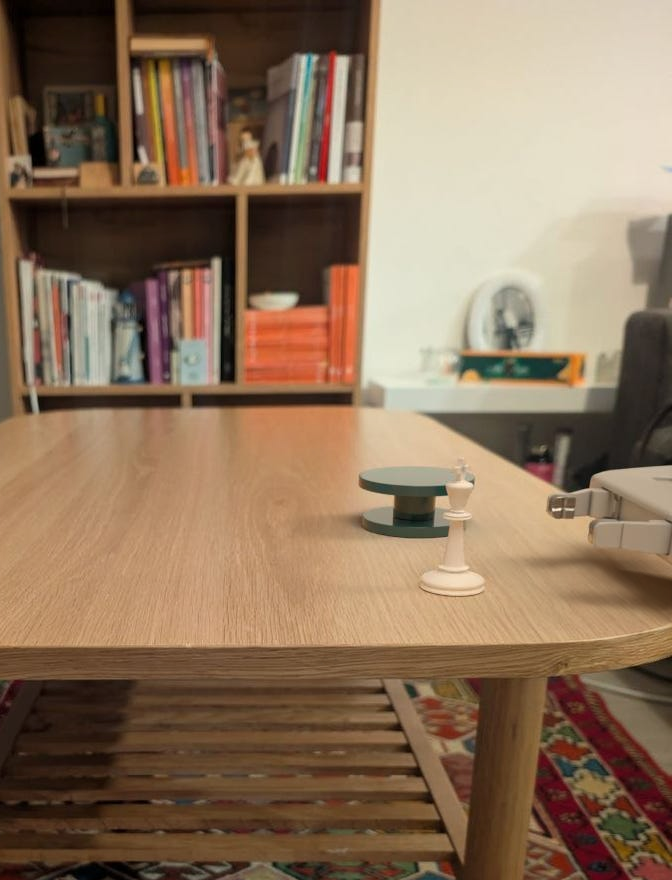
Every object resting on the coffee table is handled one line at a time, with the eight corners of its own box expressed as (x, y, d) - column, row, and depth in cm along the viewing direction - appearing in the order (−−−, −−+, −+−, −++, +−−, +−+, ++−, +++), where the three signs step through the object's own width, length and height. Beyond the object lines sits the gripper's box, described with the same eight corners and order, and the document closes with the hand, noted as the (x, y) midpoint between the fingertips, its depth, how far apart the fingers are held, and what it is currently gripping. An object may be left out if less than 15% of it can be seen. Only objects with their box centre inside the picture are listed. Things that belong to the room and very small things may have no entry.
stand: (465, 515, 98) (468, 466, 96) (476, 540, 87) (481, 486, 86) (357, 513, 100) (359, 465, 98) (356, 537, 89) (358, 485, 88)
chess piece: (406, 586, 74) (414, 458, 71) (444, 574, 77) (453, 451, 74) (459, 600, 70) (470, 465, 67) (497, 587, 73) (509, 457, 70)
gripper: (832, 599, 62) (616, 600, 62) (690, 528, 81) (526, 529, 81) (853, 503, 59) (629, 505, 60) (701, 453, 79) (533, 456, 79)
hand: (569, 519), depth 71 cm, fingers open, 8 cm apart
